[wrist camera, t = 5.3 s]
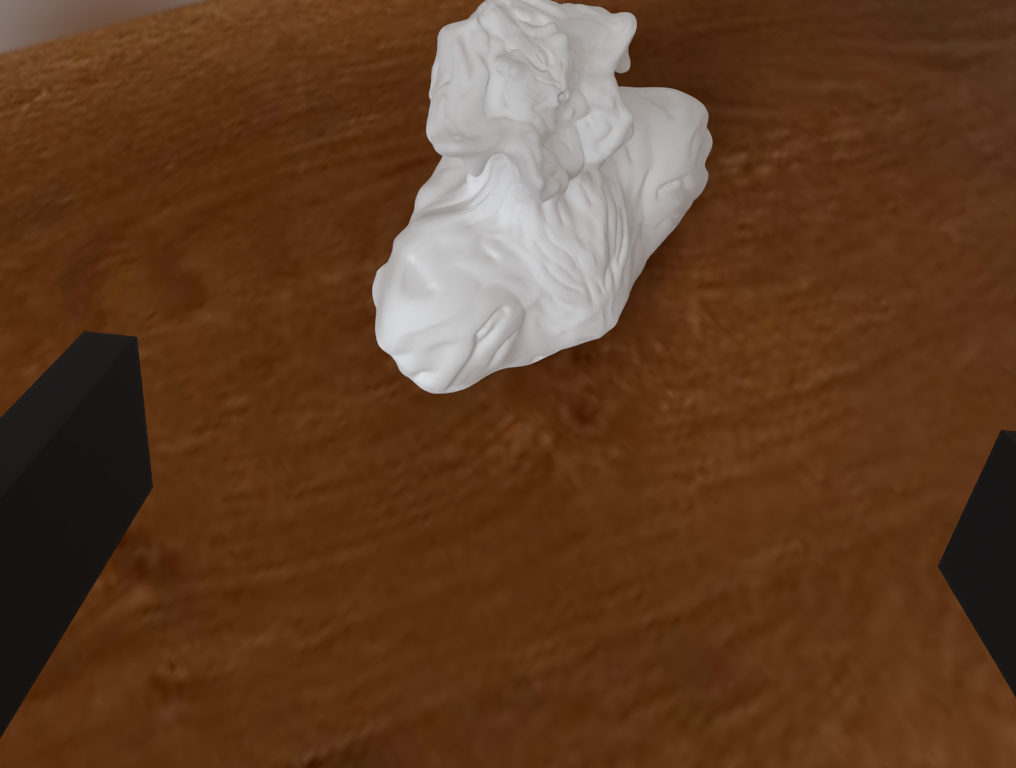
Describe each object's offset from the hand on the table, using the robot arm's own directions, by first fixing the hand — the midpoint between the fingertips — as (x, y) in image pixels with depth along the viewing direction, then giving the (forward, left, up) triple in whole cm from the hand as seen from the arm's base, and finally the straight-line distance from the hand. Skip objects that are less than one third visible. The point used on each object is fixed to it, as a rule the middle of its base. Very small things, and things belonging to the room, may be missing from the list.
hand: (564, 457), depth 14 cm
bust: (-5, +8, -14) cm, 16 cm away
